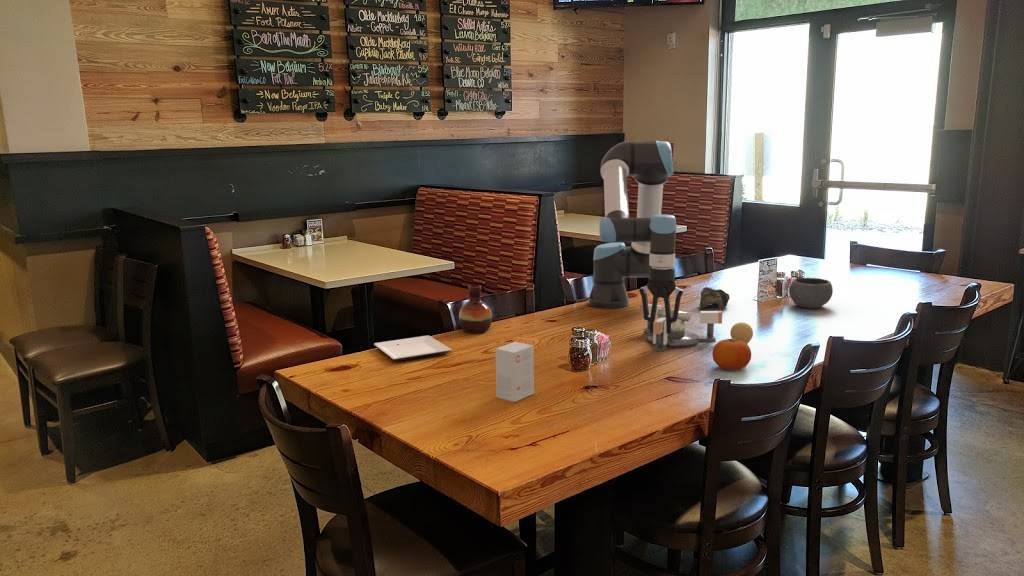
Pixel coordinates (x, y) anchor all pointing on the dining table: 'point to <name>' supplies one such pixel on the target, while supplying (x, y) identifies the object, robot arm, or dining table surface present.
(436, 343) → the plate
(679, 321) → the tribrach
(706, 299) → the fossil
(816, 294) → the bowl
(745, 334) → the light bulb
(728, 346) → the fruit
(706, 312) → the knob
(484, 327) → the vase
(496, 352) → the small box
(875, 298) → the dining table surface
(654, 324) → the knob
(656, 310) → the knob
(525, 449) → the dining table surface
